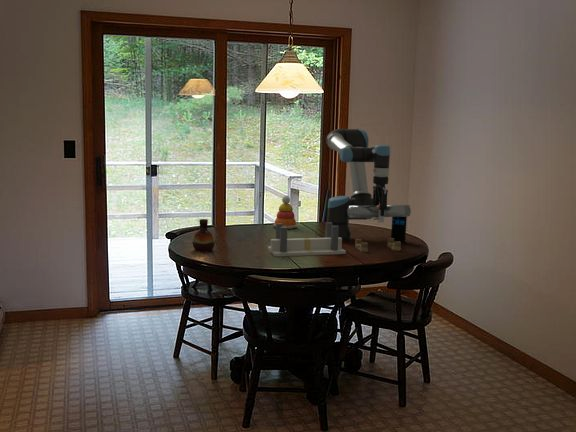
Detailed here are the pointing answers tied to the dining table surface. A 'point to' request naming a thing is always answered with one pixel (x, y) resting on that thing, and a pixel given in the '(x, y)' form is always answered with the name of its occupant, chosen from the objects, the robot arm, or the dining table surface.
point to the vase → (203, 238)
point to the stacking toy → (286, 214)
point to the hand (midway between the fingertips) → (378, 220)
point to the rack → (390, 244)
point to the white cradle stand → (306, 243)
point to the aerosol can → (399, 229)
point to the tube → (374, 211)
